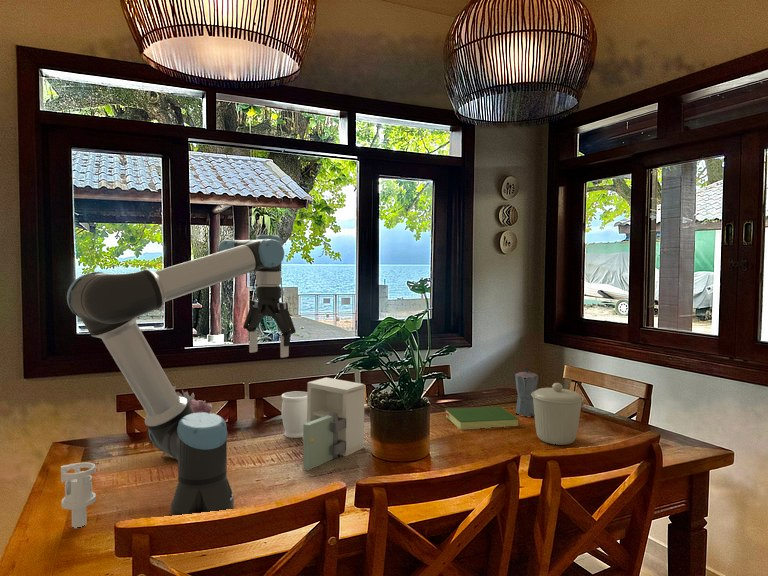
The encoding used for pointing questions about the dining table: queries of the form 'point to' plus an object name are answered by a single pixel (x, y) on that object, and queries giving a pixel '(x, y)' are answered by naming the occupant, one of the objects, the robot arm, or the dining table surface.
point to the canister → (557, 414)
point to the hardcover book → (480, 417)
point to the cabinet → (339, 411)
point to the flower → (198, 405)
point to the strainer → (78, 491)
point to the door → (318, 441)
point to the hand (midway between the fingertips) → (268, 354)
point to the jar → (294, 413)
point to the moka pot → (525, 392)
